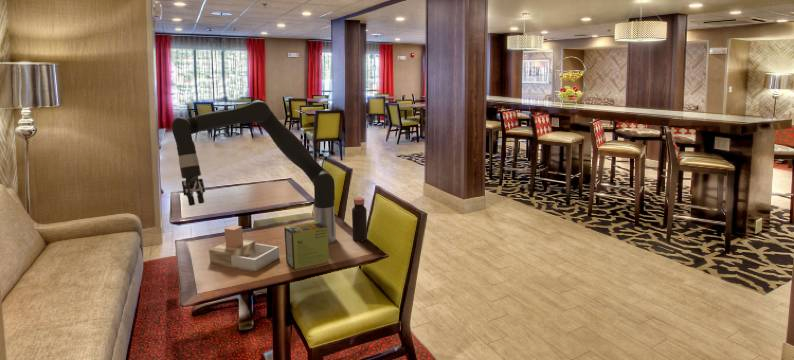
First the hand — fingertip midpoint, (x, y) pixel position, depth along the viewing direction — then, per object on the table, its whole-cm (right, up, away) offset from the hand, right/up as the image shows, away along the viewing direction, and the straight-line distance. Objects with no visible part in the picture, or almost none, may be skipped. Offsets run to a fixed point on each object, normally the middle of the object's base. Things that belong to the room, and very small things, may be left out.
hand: (197, 204), depth 210 cm
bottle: (+66, -18, +29) cm, 74 cm away
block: (+14, -18, +4) cm, 23 cm away
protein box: (+46, -25, +2) cm, 52 cm away
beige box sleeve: (+13, -24, +6) cm, 28 cm away
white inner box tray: (+24, -24, +2) cm, 34 cm away
